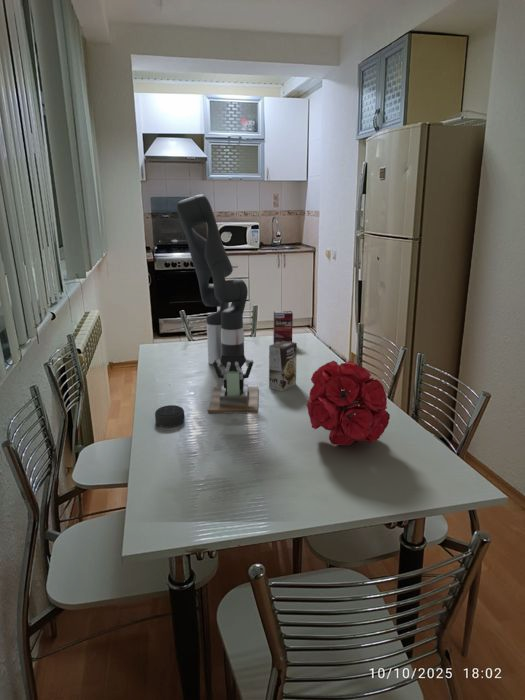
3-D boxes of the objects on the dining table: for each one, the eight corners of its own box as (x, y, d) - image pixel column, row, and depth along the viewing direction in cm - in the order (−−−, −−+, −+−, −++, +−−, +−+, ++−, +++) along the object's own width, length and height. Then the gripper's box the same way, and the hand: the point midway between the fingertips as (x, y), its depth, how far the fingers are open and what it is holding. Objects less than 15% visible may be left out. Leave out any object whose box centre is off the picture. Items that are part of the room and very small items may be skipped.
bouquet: (293, 447, 144) (323, 444, 115) (289, 371, 149) (317, 349, 121) (360, 445, 148) (405, 441, 119) (354, 371, 153) (396, 350, 125)
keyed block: (227, 399, 158) (226, 374, 156) (228, 391, 165) (228, 367, 162) (239, 399, 158) (238, 374, 156) (240, 391, 165) (239, 367, 162)
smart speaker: (169, 431, 141) (168, 418, 140) (149, 423, 146) (148, 411, 145) (190, 420, 148) (190, 408, 147) (171, 413, 153) (170, 402, 152)
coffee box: (282, 391, 169) (283, 348, 164) (268, 387, 173) (268, 345, 168) (297, 384, 176) (297, 342, 171) (282, 380, 180) (282, 339, 175)
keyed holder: (214, 389, 172) (213, 380, 171) (258, 389, 172) (258, 380, 171) (207, 412, 153) (207, 402, 152) (257, 412, 153) (257, 402, 152)
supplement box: (274, 346, 222) (274, 313, 218) (273, 343, 227) (273, 311, 222) (292, 345, 223) (293, 312, 218) (291, 343, 228) (291, 310, 223)
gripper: (209, 344, 152) (211, 393, 157) (253, 343, 152) (254, 393, 157) (212, 337, 160) (214, 385, 165) (254, 337, 159) (255, 385, 164)
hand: (233, 389), depth 161 cm, fingers closed on keyed block, 4 cm apart
